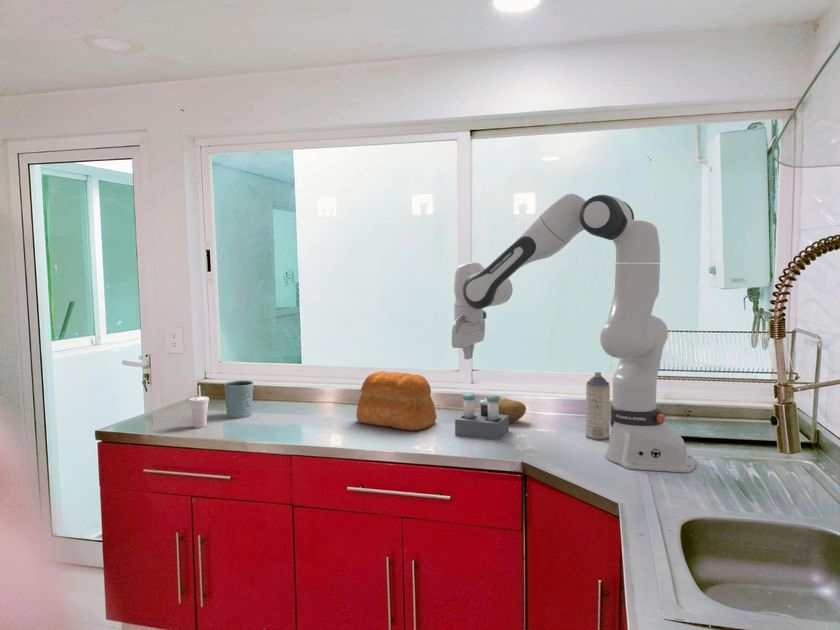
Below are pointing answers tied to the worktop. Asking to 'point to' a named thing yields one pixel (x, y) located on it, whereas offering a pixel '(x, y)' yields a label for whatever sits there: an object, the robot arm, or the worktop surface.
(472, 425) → the mount
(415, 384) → the bread
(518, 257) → the robot arm
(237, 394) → the grey cup
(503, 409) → the potato
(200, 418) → the smoothie
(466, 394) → the white cylinder
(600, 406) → the aerosol can
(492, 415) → the white bottle teal cap
